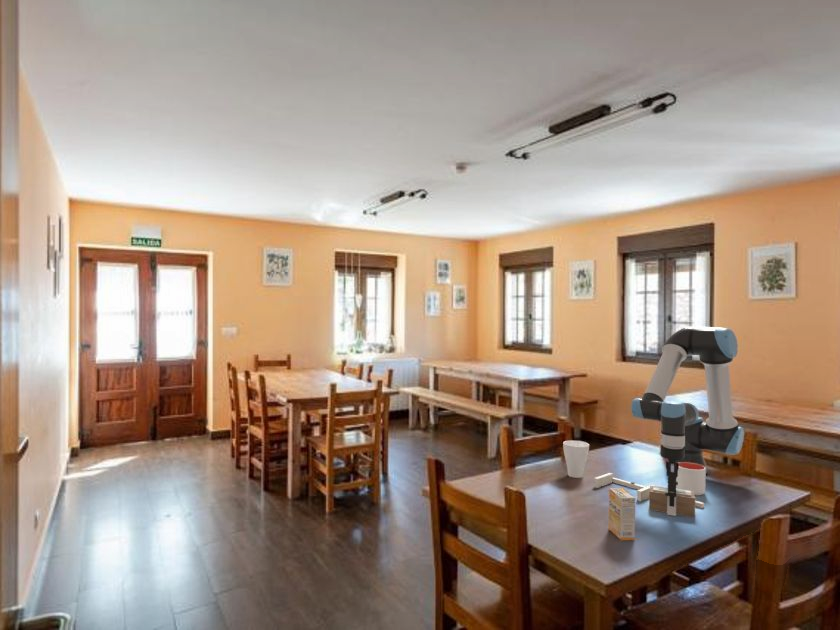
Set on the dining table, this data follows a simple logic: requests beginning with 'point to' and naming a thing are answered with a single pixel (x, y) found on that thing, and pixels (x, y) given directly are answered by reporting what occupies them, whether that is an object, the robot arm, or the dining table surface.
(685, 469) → the cup
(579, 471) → the cup
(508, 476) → the dining table surface
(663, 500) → the wooden block
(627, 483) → the notch rail
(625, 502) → the supplement box
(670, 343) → the robot arm
